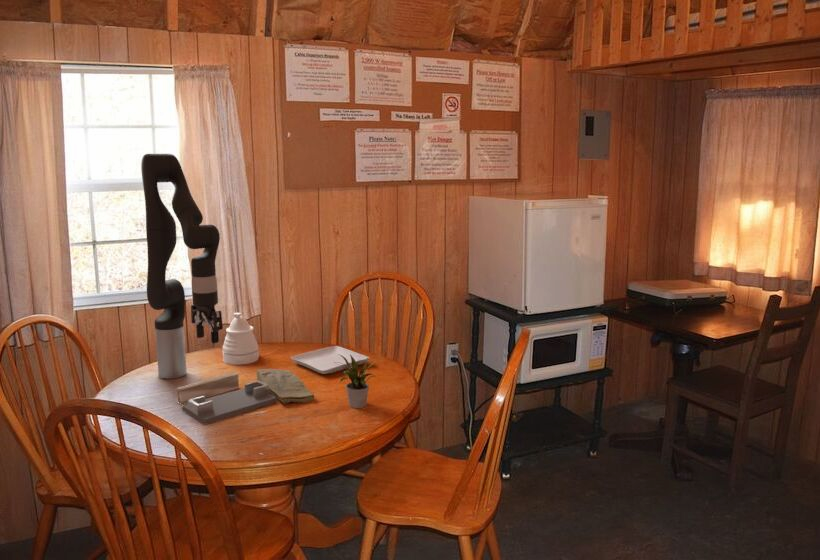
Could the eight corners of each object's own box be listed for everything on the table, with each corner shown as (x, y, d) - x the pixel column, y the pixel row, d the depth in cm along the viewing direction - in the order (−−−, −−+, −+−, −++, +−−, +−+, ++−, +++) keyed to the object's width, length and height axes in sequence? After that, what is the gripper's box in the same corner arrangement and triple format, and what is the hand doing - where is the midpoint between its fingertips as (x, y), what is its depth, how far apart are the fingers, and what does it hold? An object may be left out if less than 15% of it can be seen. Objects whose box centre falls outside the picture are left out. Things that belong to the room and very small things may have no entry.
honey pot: (254, 364, 240) (251, 316, 237) (218, 364, 241) (216, 316, 237) (262, 353, 253) (260, 308, 249) (228, 353, 253) (226, 307, 250)
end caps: (188, 409, 196) (187, 399, 195) (258, 389, 212) (258, 380, 212) (197, 415, 192) (197, 405, 191) (269, 394, 208) (268, 385, 208)
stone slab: (286, 364, 233) (316, 388, 207) (286, 375, 234) (317, 401, 208) (251, 369, 227) (278, 394, 201) (251, 380, 228) (278, 407, 202)
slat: (178, 403, 205) (176, 387, 204) (234, 386, 220) (234, 372, 219) (182, 405, 204) (180, 389, 203) (238, 388, 218) (238, 374, 217)
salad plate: (289, 364, 242) (288, 355, 241) (336, 352, 256) (336, 344, 255) (322, 380, 226) (322, 370, 226) (371, 366, 240) (371, 357, 240)
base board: (182, 410, 199) (181, 405, 199) (252, 390, 216) (252, 385, 215) (204, 424, 189) (204, 419, 189) (276, 402, 206) (276, 397, 205)
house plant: (320, 407, 202) (319, 355, 199) (348, 393, 214) (347, 344, 210) (358, 417, 195) (358, 364, 191) (385, 402, 206) (384, 351, 203)
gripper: (228, 291, 203) (230, 342, 206) (203, 284, 212) (206, 333, 215) (206, 295, 197) (209, 347, 201) (181, 288, 207) (185, 338, 210)
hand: (207, 340), depth 208 cm, fingers open, 8 cm apart
